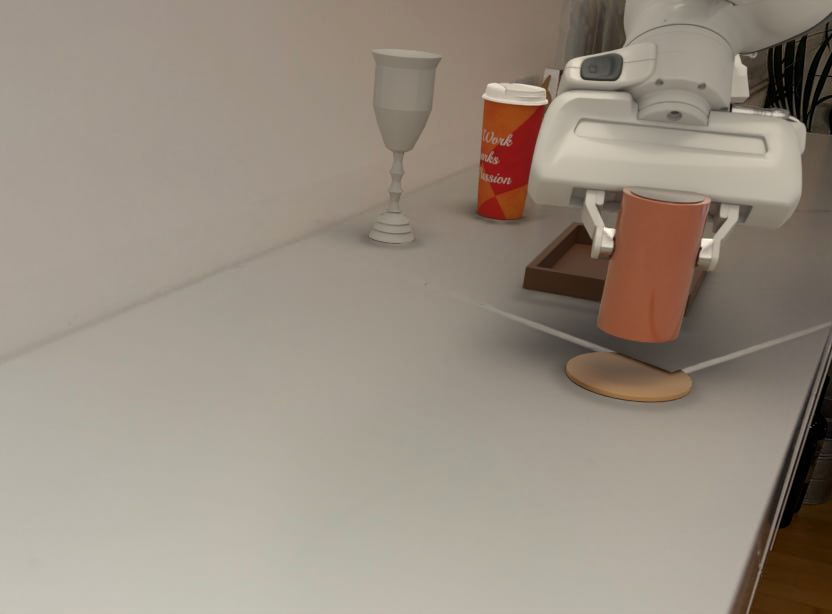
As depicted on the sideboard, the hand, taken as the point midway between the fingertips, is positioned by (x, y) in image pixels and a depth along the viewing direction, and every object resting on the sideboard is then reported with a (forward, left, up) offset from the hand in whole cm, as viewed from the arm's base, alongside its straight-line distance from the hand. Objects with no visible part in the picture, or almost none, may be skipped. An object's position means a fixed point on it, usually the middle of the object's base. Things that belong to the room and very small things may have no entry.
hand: (652, 260), depth 82 cm
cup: (0, 0, -5) cm, 5 cm away
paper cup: (+44, -33, -10) cm, 56 cm away
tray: (+18, -23, -9) cm, 31 cm away
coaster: (0, 0, -9) cm, 9 cm away
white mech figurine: (+48, -81, -10) cm, 95 cm away
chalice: (+42, -13, -10) cm, 45 cm away
